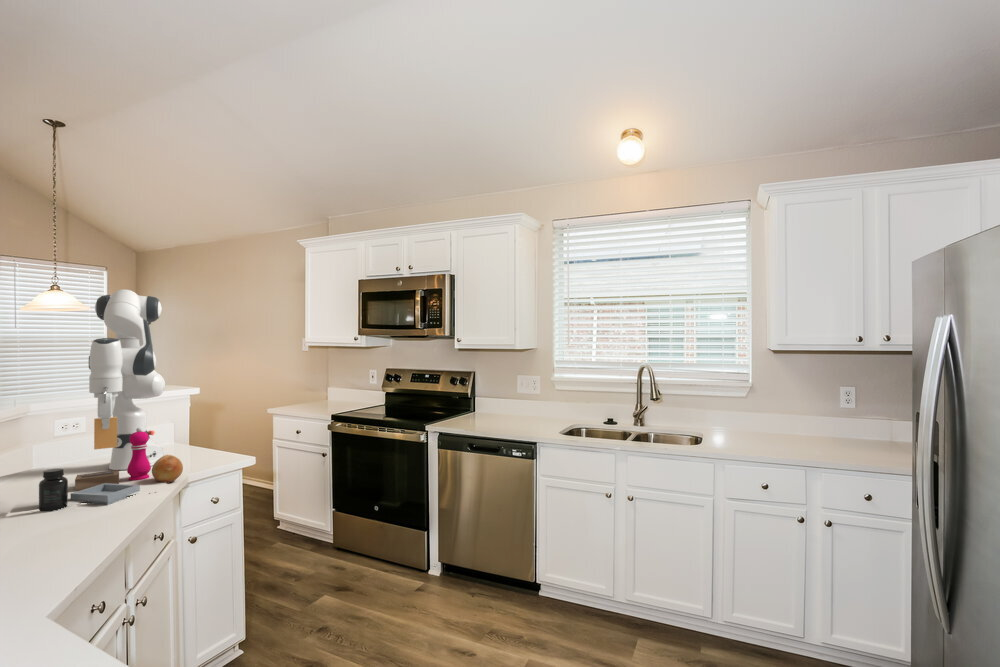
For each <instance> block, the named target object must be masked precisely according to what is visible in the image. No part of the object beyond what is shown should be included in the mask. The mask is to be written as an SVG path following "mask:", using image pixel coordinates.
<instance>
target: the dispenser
mask: <svg viewBox="0 0 1000 667" xmlns="http://www.w3.org/2000/svg"><path fill="white" fill-rule="evenodd" d="M104 483H109V484H120V470H106V471H99V472H90V473H81V474H77V475H76V477H75V479H74V492H78V491H81V490H84V489H87V488H91V487H94V486H97V485H101V484H104Z"/></svg>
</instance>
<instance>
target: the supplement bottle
mask: <svg viewBox="0 0 1000 667" xmlns="http://www.w3.org/2000/svg"><path fill="white" fill-rule="evenodd" d="M64 472H65V470H64V468H62V467H61V468H51V469H45V470H43V473H42V478H43V479H42V480H40V481H39V483H38V510H39V512H42V511H49V512H54V511H53V510H56V511H59V510H58V509H60V510H62V509H61V508H63V509H65V508H67V507H68V505H69V504H68V502H69V501H68V500H69V499H68V497H69V496H68V495H69V493H68V491H69V490H68V489H69V487H68V486H69V483H68V482H69V481H68V478H67V477H65V476H64V475H65V473H64ZM64 507H65V508H64Z"/></svg>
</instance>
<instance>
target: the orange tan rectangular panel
mask: <svg viewBox="0 0 1000 667" xmlns="http://www.w3.org/2000/svg"><path fill="white" fill-rule="evenodd" d="M93 420H94V421H93V423H94V424H93V425H94V427H93V428H94V429H93V430H94V431H93V438H94V439H93V440H94V441H93V443H94V446H93V450H103V449H111V448H112V449H113V448H114V447H117V417H113V416H111V417H110V421H109V429H103V428H102V418H98V417H97V418H94V419H93Z"/></svg>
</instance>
